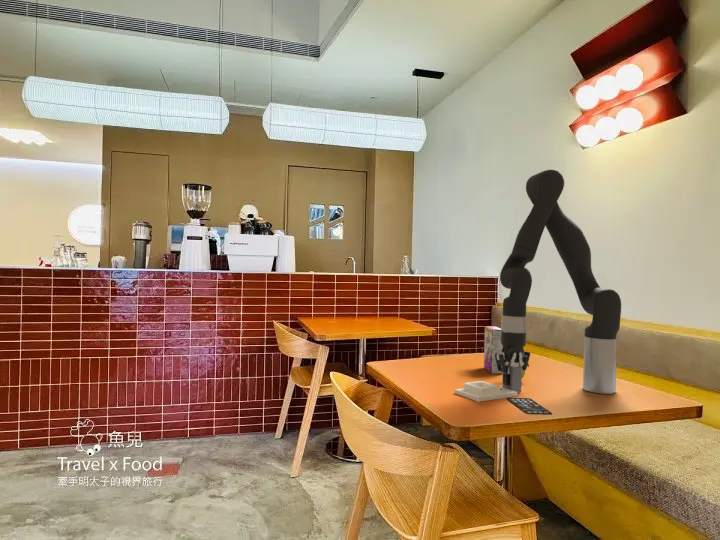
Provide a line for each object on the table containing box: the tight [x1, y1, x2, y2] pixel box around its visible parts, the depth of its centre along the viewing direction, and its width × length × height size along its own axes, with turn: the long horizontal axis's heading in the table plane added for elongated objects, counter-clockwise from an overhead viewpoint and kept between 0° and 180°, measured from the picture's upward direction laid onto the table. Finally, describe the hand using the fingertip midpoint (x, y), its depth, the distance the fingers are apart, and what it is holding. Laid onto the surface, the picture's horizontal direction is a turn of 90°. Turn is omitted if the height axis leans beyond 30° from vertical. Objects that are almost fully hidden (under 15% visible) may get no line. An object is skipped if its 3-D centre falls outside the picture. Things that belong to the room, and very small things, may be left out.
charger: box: [501, 362, 523, 393], centre depth 148 cm, size 4×4×9 cm
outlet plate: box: [454, 380, 519, 403], centre depth 143 cm, size 16×10×3 cm, turn 120°
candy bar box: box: [483, 325, 503, 375], centre depth 179 cm, size 11×5×16 cm, turn 179°
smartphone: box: [506, 397, 553, 416], centre depth 132 cm, size 7×1×15 cm
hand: (511, 384), depth 148 cm, fingers closed on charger, 4 cm apart
